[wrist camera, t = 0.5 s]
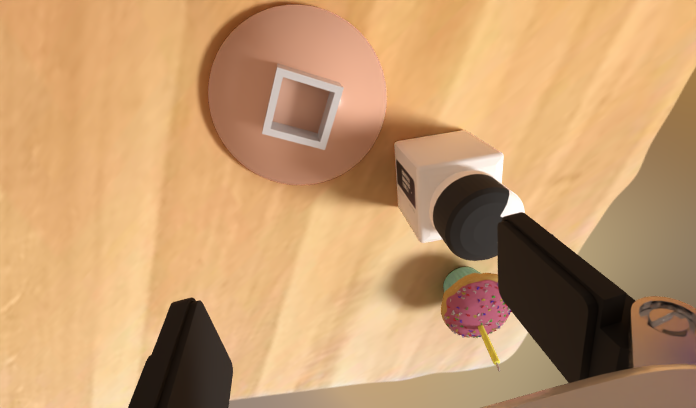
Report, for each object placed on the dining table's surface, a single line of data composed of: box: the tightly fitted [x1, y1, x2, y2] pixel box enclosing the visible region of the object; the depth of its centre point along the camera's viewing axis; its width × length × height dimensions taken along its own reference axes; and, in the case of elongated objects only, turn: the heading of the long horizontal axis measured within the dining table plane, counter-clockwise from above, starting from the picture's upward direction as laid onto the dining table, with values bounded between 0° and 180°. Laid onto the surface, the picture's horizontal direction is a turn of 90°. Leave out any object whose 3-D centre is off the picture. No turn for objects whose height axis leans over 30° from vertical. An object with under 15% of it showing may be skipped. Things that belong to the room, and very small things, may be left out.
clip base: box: [208, 5, 387, 185], centre depth 33 cm, size 16×16×4 cm
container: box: [394, 130, 525, 261], centre depth 34 cm, size 8×8×13 cm
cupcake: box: [441, 267, 512, 371], centre depth 43 cm, size 9×8×12 cm
